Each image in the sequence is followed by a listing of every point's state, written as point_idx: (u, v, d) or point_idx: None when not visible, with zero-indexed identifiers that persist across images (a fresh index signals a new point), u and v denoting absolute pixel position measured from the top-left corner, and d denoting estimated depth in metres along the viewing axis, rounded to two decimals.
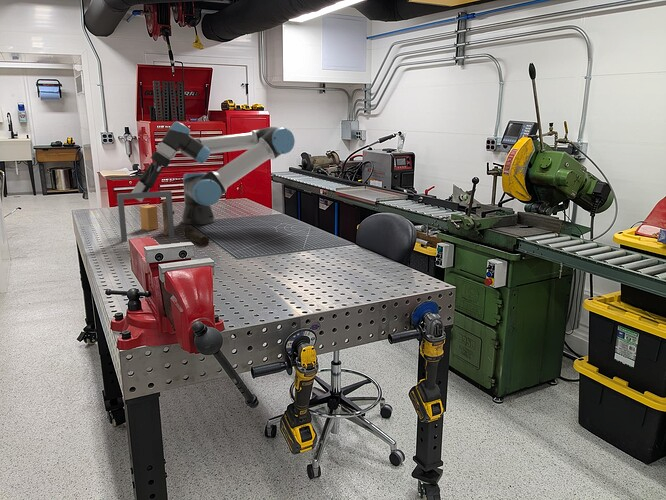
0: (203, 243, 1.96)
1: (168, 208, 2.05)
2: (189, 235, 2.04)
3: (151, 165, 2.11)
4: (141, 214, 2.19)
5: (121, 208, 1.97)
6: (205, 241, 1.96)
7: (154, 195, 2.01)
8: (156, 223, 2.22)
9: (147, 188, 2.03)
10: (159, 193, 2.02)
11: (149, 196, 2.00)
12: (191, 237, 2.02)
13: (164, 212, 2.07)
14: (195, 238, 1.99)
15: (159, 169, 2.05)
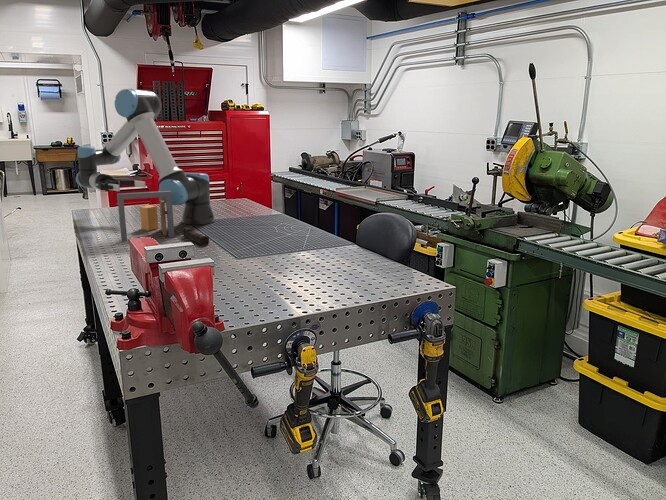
0: (203, 243, 1.96)
1: (168, 208, 2.05)
2: (188, 235, 2.04)
3: None
4: (141, 214, 2.19)
5: (121, 208, 1.97)
6: (205, 241, 1.96)
7: (154, 195, 2.01)
8: (156, 223, 2.22)
9: (106, 186, 2.18)
10: (159, 193, 2.02)
11: (149, 196, 2.00)
12: (191, 237, 2.02)
13: (163, 212, 2.07)
14: (195, 238, 1.99)
15: (96, 183, 2.24)
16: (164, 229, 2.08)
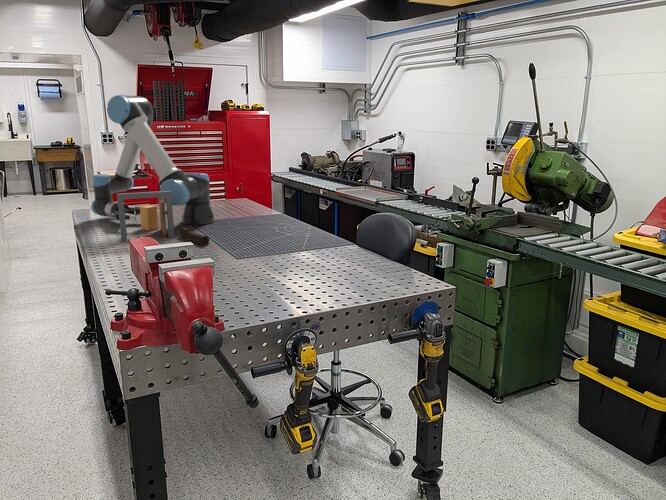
0: (204, 243, 1.96)
1: (168, 208, 2.05)
2: (187, 235, 2.03)
3: None
4: (141, 214, 2.19)
5: (121, 208, 1.97)
6: (205, 241, 1.97)
7: (154, 195, 2.01)
8: (156, 223, 2.22)
9: None
10: (159, 193, 2.02)
11: (149, 196, 2.00)
12: (189, 237, 2.02)
13: (163, 212, 2.07)
14: (194, 238, 1.99)
15: (112, 213, 2.23)
16: (164, 229, 2.08)
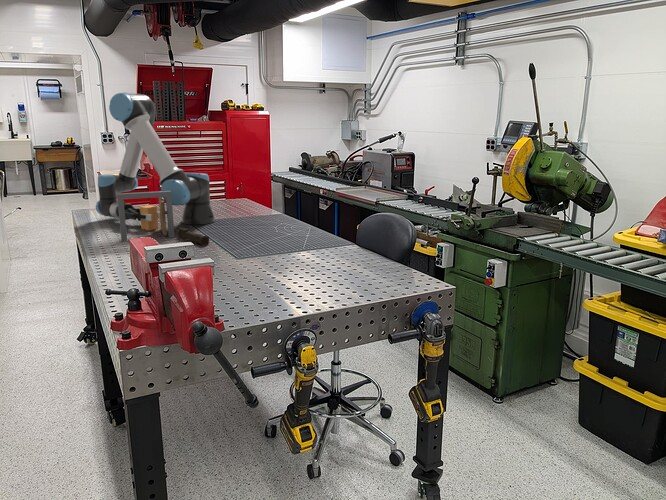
0: (204, 243, 1.96)
1: (168, 208, 2.05)
2: (185, 235, 2.03)
3: None
4: None
5: (121, 208, 1.97)
6: (206, 241, 1.97)
7: (154, 195, 2.01)
8: (156, 223, 2.22)
9: (139, 216, 2.18)
10: (159, 193, 2.02)
11: (149, 196, 2.00)
12: (189, 238, 2.01)
13: (163, 212, 2.07)
14: (194, 238, 1.99)
15: None
16: (164, 229, 2.08)
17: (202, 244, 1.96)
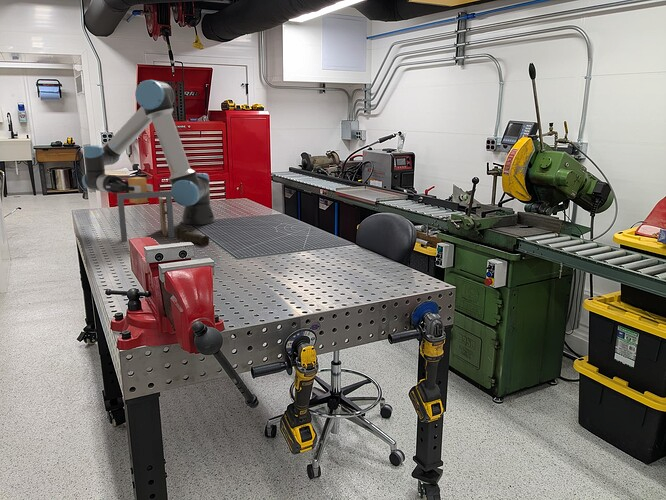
0: (204, 243, 1.96)
1: (168, 208, 2.05)
2: (184, 236, 2.02)
3: None
4: None
5: (121, 208, 1.97)
6: (206, 241, 1.97)
7: (154, 195, 2.01)
8: None
9: (127, 188, 2.04)
10: (159, 193, 2.02)
11: (149, 196, 2.00)
12: (188, 238, 2.01)
13: (163, 212, 2.07)
14: (194, 238, 1.98)
15: (108, 186, 2.07)
16: (164, 229, 2.08)
17: (202, 244, 1.96)
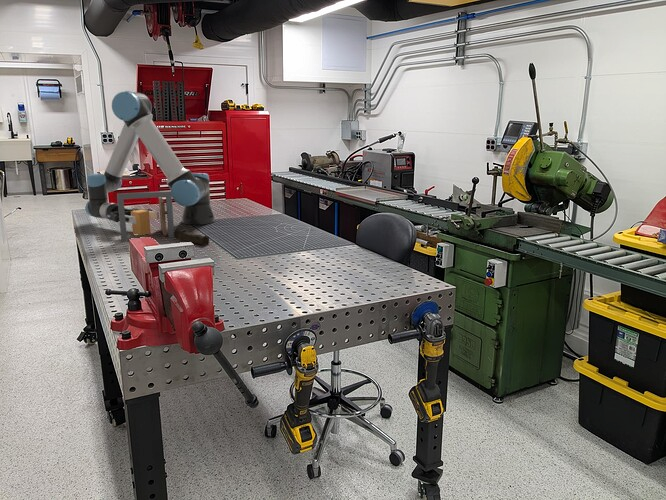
0: (204, 243, 1.96)
1: (168, 208, 2.05)
2: (183, 236, 2.02)
3: None
4: None
5: (121, 208, 1.97)
6: (206, 241, 1.97)
7: (154, 195, 2.01)
8: (148, 228, 2.12)
9: None
10: (159, 193, 2.02)
11: (149, 196, 2.00)
12: (187, 238, 2.00)
13: (163, 212, 2.07)
14: (193, 239, 1.98)
15: (108, 215, 2.10)
16: (164, 229, 2.08)
17: (203, 244, 1.96)
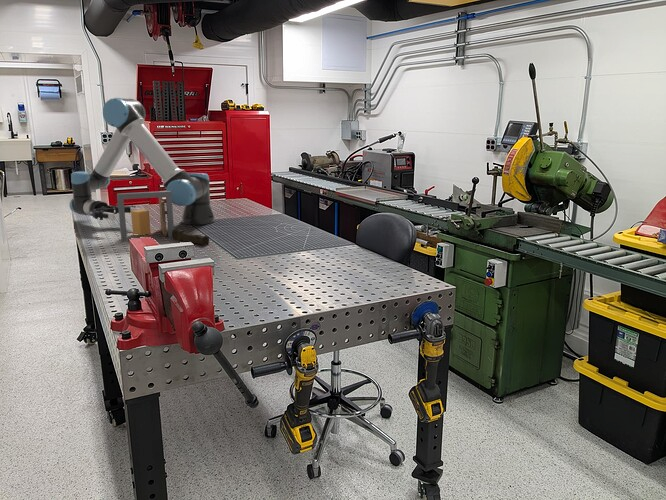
0: (205, 243, 1.96)
1: (168, 208, 2.05)
2: (182, 236, 2.01)
3: None
4: (132, 219, 2.09)
5: (121, 208, 1.97)
6: (206, 241, 1.97)
7: (154, 195, 2.01)
8: (148, 228, 2.12)
9: (101, 215, 2.10)
10: (159, 193, 2.02)
11: (149, 196, 2.00)
12: (186, 238, 2.00)
13: (163, 212, 2.07)
14: (193, 239, 1.98)
15: (90, 211, 2.16)
16: (164, 229, 2.08)
17: (203, 244, 1.96)
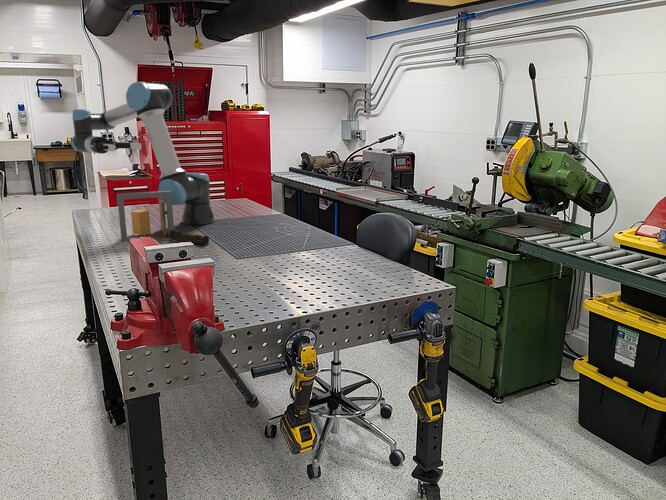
0: (205, 243, 1.97)
1: (168, 208, 2.05)
2: (181, 237, 2.00)
3: None
4: (132, 219, 2.09)
5: (121, 208, 1.97)
6: (206, 241, 1.97)
7: (154, 195, 2.01)
8: (148, 228, 2.12)
9: (101, 147, 2.15)
10: (159, 193, 2.02)
11: (149, 196, 2.00)
12: (185, 239, 1.99)
13: (163, 212, 2.07)
14: (193, 239, 1.98)
15: (91, 145, 2.21)
16: (164, 229, 2.08)
17: (203, 244, 1.96)
